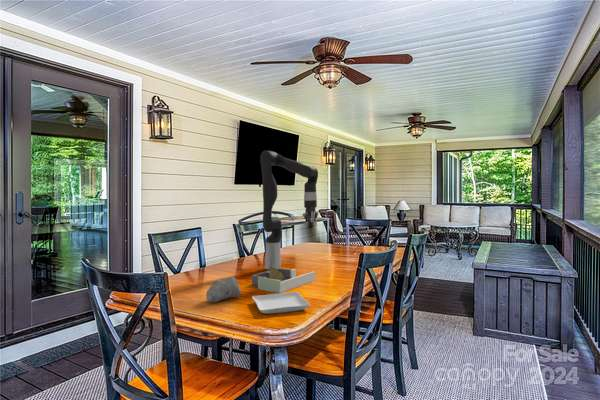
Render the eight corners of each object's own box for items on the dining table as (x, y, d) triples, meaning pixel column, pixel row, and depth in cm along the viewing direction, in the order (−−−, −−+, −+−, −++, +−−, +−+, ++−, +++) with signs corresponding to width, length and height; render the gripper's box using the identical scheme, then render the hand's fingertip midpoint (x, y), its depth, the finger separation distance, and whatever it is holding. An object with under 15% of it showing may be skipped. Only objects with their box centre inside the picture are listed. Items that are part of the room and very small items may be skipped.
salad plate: (259, 318, 149) (259, 309, 149) (251, 303, 170) (251, 295, 170) (311, 312, 155) (311, 304, 155) (297, 298, 175) (297, 291, 175)
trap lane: (245, 286, 198) (245, 275, 198) (282, 275, 223) (282, 265, 223) (279, 293, 184) (279, 280, 184) (315, 280, 209) (315, 269, 209)
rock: (291, 280, 200) (274, 276, 204) (289, 269, 195) (272, 266, 199) (284, 297, 193) (266, 292, 196) (281, 286, 188) (263, 282, 191)
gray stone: (206, 306, 165) (206, 283, 164) (205, 297, 179) (204, 276, 179) (243, 302, 169) (243, 280, 169) (239, 294, 183) (239, 273, 183)
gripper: (311, 199, 234) (311, 227, 235) (298, 199, 224) (299, 229, 224) (321, 199, 230) (322, 228, 230) (309, 199, 219) (309, 229, 220)
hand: (310, 228), depth 227 cm, fingers closed
